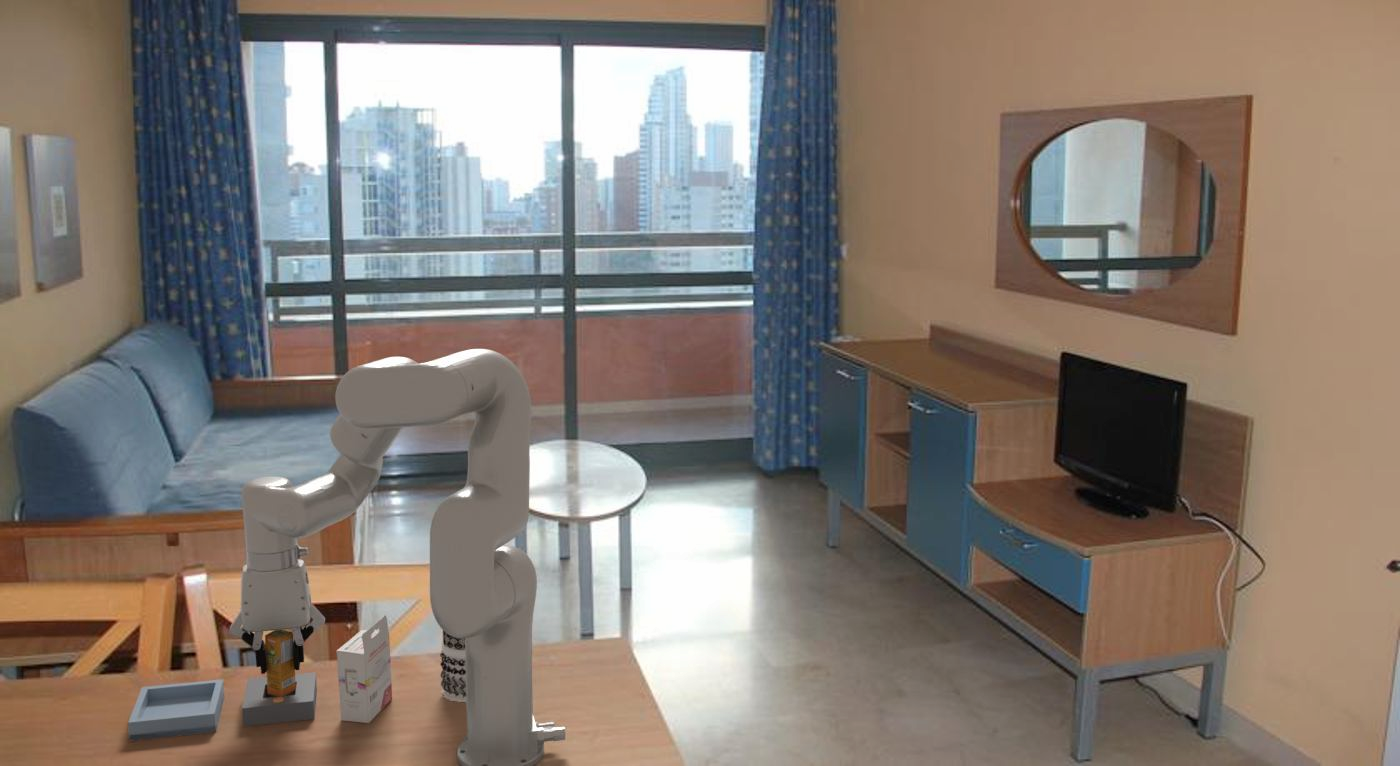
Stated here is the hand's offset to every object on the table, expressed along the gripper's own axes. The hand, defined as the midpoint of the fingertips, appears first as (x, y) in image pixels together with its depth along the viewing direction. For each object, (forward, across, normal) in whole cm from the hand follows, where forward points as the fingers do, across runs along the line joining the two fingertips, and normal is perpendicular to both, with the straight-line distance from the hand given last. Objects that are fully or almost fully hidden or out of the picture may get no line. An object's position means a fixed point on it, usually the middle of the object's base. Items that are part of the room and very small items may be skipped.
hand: (280, 667), depth 190 cm
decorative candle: (+7, -29, +1) cm, 30 cm away
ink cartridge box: (+7, -13, +4) cm, 15 cm away
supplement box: (+4, 0, 0) cm, 4 cm away
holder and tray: (+7, +7, 0) cm, 10 cm away
